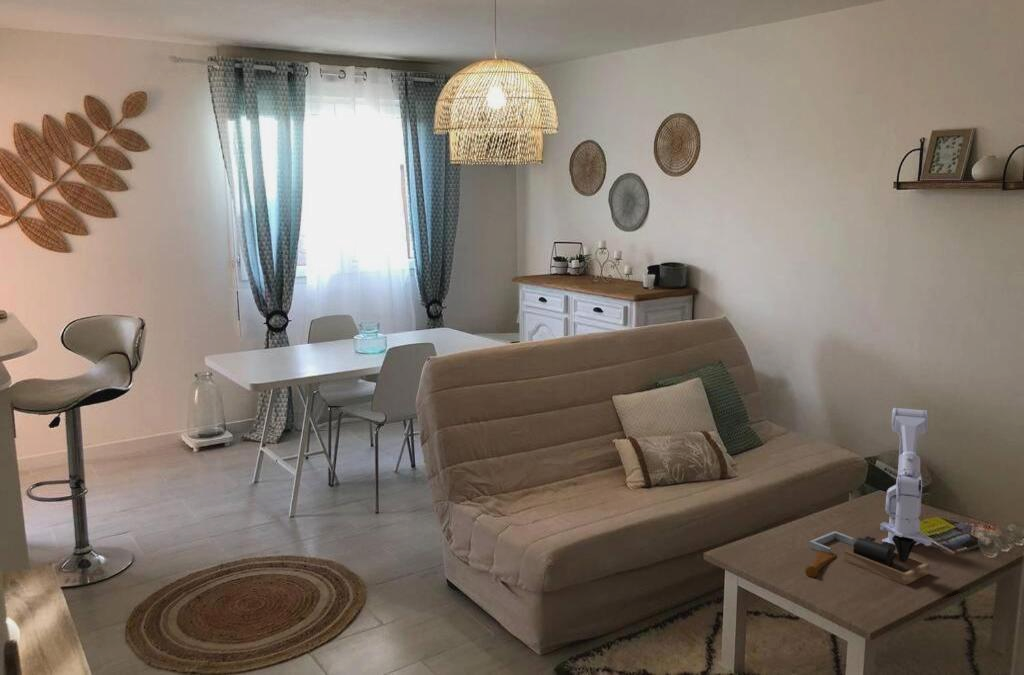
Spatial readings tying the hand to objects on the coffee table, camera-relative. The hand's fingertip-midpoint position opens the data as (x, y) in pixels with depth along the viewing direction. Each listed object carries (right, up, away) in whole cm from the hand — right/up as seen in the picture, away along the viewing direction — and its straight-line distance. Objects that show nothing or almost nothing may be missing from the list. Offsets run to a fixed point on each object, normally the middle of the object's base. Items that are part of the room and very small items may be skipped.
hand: (903, 560), depth 241 cm
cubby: (-3, -3, +6) cm, 7 cm away
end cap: (-5, -3, +8) cm, 10 cm away
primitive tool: (-22, -4, +8) cm, 23 cm away
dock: (-13, -1, +20) cm, 23 cm away
